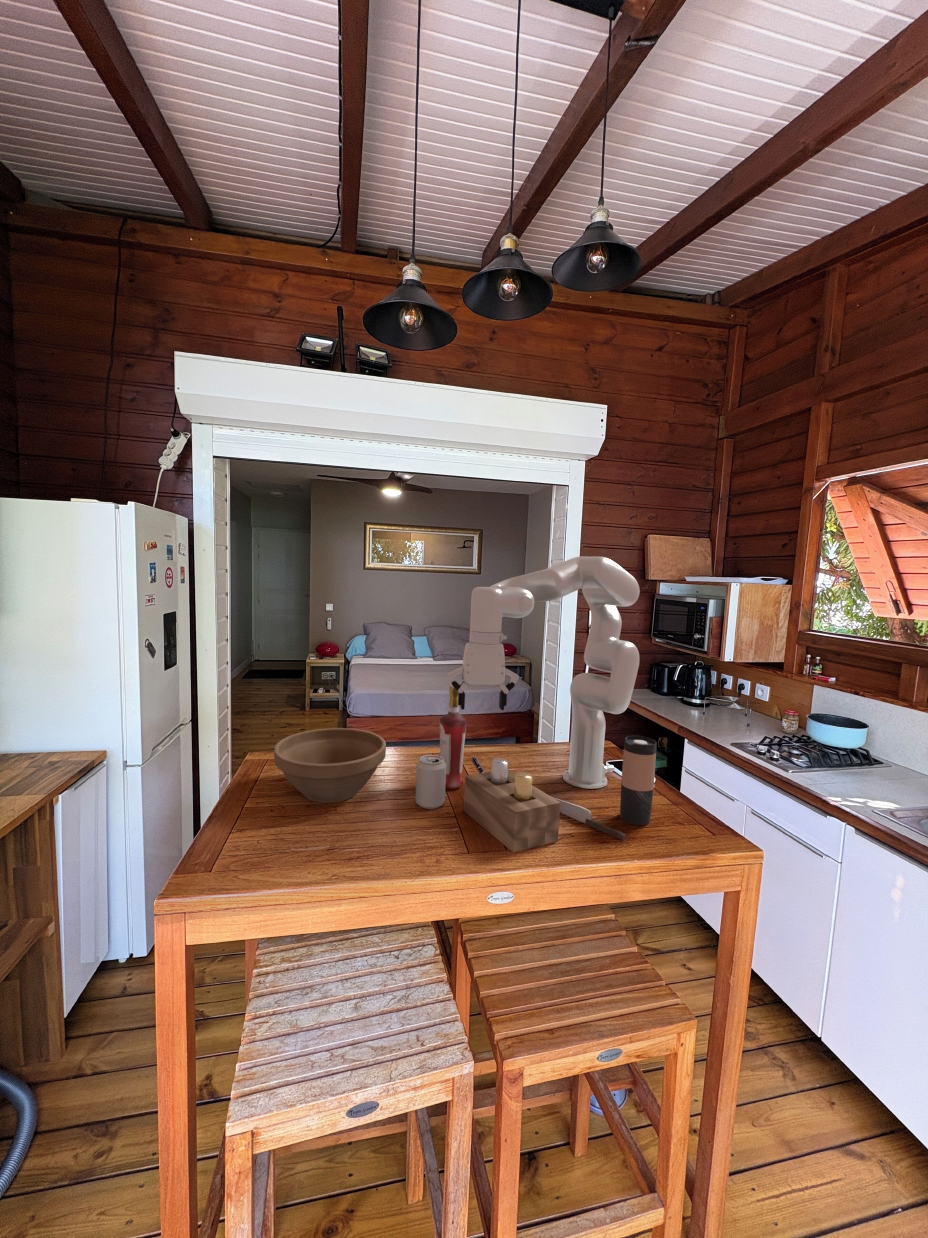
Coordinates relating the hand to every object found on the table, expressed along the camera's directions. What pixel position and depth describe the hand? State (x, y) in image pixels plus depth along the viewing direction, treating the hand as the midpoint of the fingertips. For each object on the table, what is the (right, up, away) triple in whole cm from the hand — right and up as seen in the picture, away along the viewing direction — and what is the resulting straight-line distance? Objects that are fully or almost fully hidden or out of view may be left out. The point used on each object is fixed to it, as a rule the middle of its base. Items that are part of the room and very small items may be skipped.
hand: (481, 708), depth 131 cm
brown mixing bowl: (-40, -24, +11) cm, 48 cm away
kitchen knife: (+22, -28, +3) cm, 36 cm away
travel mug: (+38, -28, +3) cm, 47 cm away
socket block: (+6, -27, -3) cm, 28 cm away
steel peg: (+4, -21, +1) cm, 21 cm away
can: (-13, -26, +7) cm, 30 cm away
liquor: (-8, -25, +19) cm, 32 cm away
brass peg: (+9, -22, -8) cm, 25 cm away
